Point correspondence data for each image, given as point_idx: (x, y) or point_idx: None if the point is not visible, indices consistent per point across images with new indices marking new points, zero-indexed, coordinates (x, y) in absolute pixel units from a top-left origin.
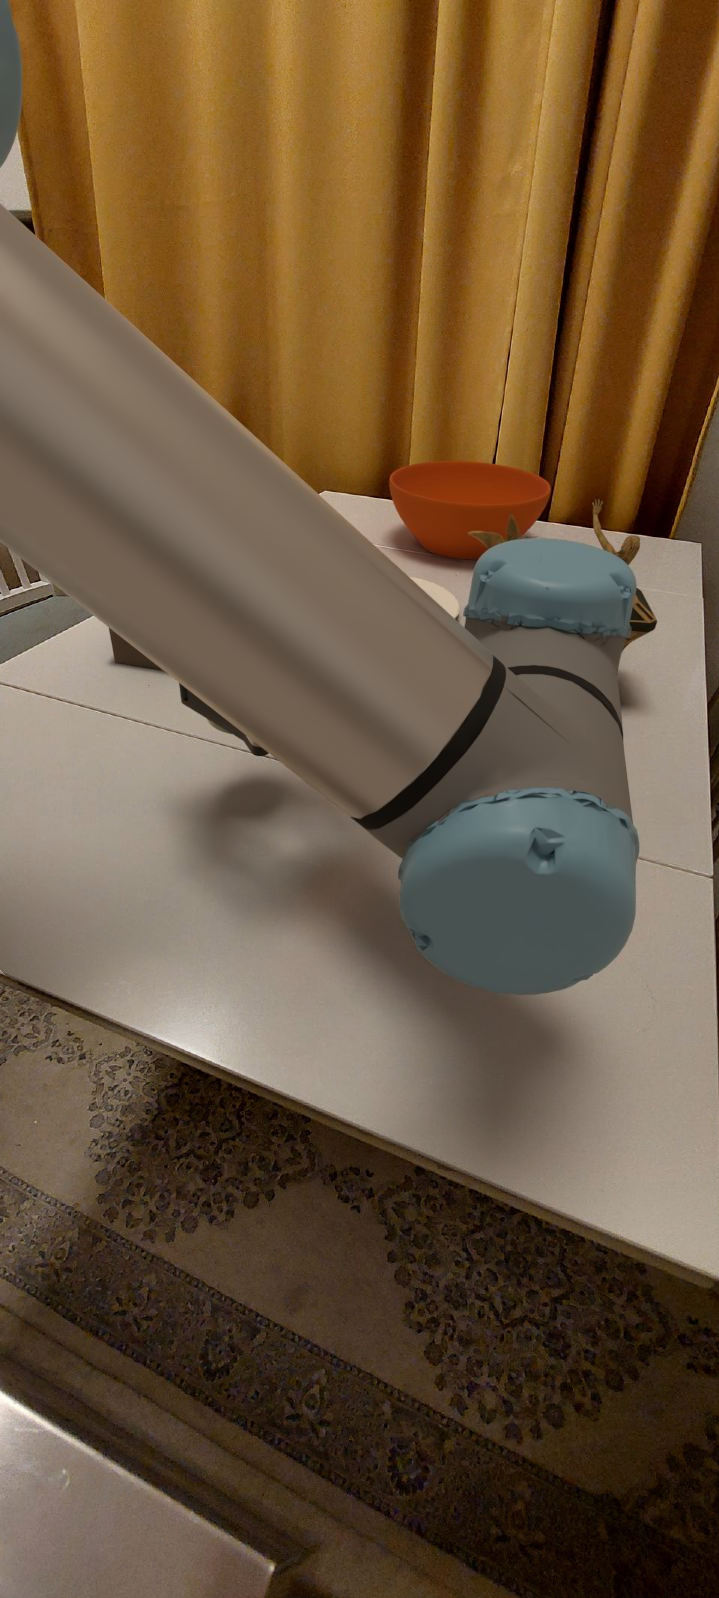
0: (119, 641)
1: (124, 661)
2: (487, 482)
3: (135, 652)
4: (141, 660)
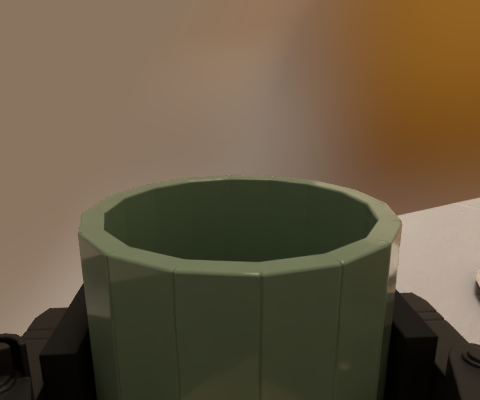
0: None
1: None
2: None
3: None
4: None
